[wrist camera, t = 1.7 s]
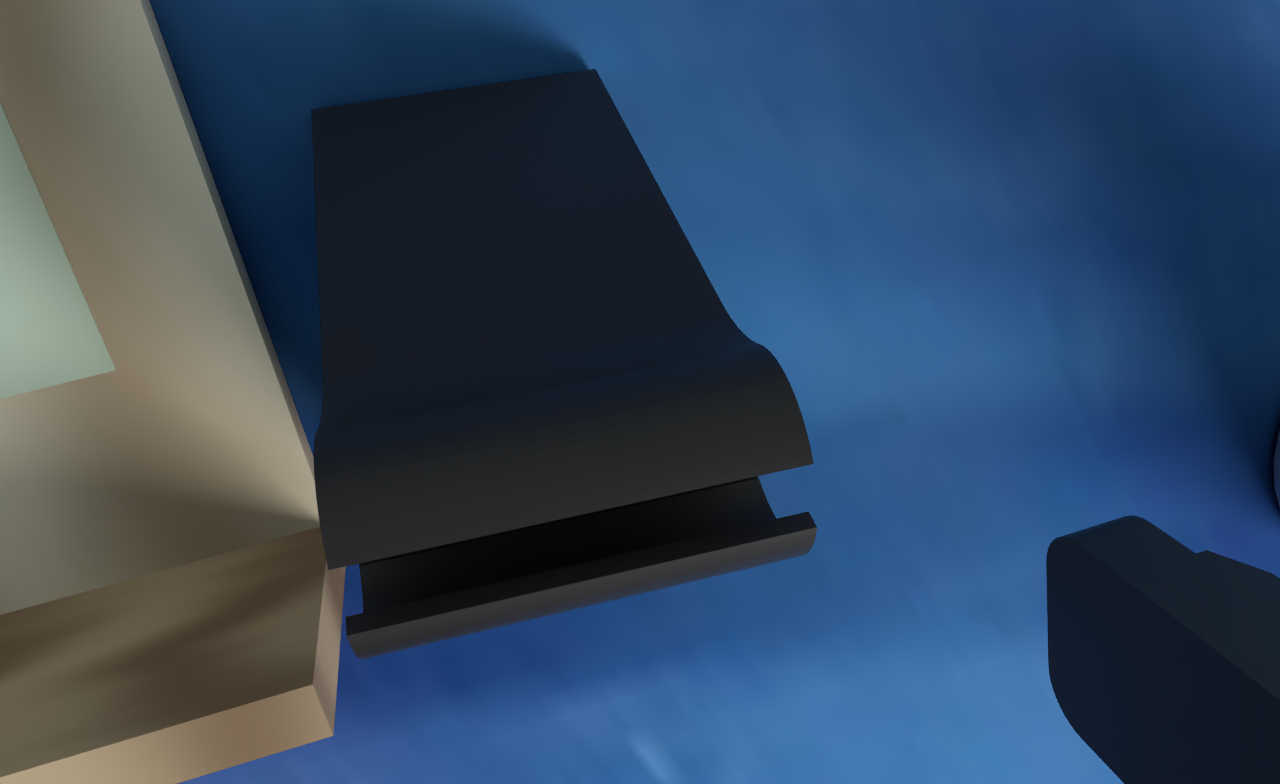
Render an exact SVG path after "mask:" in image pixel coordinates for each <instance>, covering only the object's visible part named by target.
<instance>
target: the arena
mask: <svg viewBox="0 0 1280 784" xmlns="http://www.w3.org/2000/svg"><path fill="white" fill-rule="evenodd" d="M345 567H346V566H345ZM345 567H341V568H336V569H332V570H328V567H327V562H326V557H325V552H324V546H323V541H322V535H321V529H320V522H319V515H318V508H317V500H316V490H315V479H314V457H313V455H312V452H311V449H310V446H309V444H308V441H307V438H306V435H305V432H304V430H303V427H302V424H301V421H300V419H299V416H298V413H297V410H296V407H295V405H294V402H293V399H292V396H291V393H290V391H289V388H288V385H287V382H286V380H285V377H284V374H283V371H282V368H281V366H280V363H279V360H278V357H277V355H276V352H275V349H274V346H273V343H272V341H271V338H270V335H269V332H268V329H267V327H266V324H265V321H264V318H263V316H262V313H261V310H260V307H259V304H258V302H257V299H256V296H255V293H254V291H253V288H252V285H251V282H250V279H249V277H248V274H247V271H246V268H245V265H244V263H243V260H242V257H241V254H240V252H239V249H238V246H237V243H236V240H235V238H234V235H233V232H232V229H231V227H230V224H229V221H228V218H227V215H226V213H225V210H224V207H223V204H222V201H221V199H220V196H219V193H218V190H217V188H216V185H215V182H214V179H213V176H212V174H211V171H210V168H209V165H208V163H207V160H206V157H205V154H204V151H203V149H202V146H201V143H200V140H199V137H198V135H197V132H196V129H195V126H194V124H193V121H192V118H191V115H190V112H189V110H188V107H187V104H186V101H185V99H184V96H183V93H182V90H181V87H180V85H179V82H178V79H177V76H176V73H175V71H174V68H173V65H172V62H171V60H170V57H169V54H168V51H167V48H166V46H165V43H164V40H163V37H162V34H161V32H160V29H159V26H158V23H157V21H156V18H155V15H154V12H153V9H152V7H151V4H150V1H149V0H0V784H177V783H180V782H183V781H187V780H190V779H193V778H196V777H200V776H203V775H206V774H210V773H213V772H216V771H219V770H223V769H226V768H229V767H232V766H236V765H239V764H242V763H246V762H249V761H252V760H255V759H259V758H262V757H265V756H268V755H272V754H275V753H278V752H281V751H285V750H288V749H291V748H295V747H298V746H301V745H304V744H308V743H311V742H314V741H317V740H321V739H324V738H327V737H331V736H333V734H334V720H335V706H336V692H337V678H338V664H339V650H340V637H341V623H342V609H343V595H344V581H345Z"/></svg>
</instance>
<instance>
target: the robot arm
mask: <svg viewBox="0 0 1280 784" xmlns="http://www.w3.org/2000/svg"><path fill="white" fill-rule="evenodd" d="M1274 488H1275V492H1276V495H1277V499H1278V503H1279V506H1280V430H1279V434H1278V440H1277V445H1276V451H1275V456H1274ZM1046 566H1047V614H1048V662H1049V674H1050V679H1051V683H1052V687H1053V690H1054V693H1055V696H1056V698H1057V701H1058V703H1059V705H1060V707H1061V709H1062V711H1063V713H1064V715H1065V717H1066V718H1067V720H1068V721H1069V723H1070V725H1071V726H1072V727H1073V729H1074V730H1075V731H1076V733H1077V734H1078V735H1079V736H1080V737H1081V738H1082V739H1083V740H1084V742H1085V743H1086V744H1087V745H1088V746H1089V747H1090V748H1091V749H1092V750H1093V751H1094V752H1095V753H1096V754H1097V755H1098V756H1099V757H1100V758H1101V759H1102V761H1103V762H1104V763H1105V764H1106V765H1107V766H1108V767H1109V768H1110V769H1111V770H1112V771H1113V772H1114V773H1115V774H1116V775H1117V776H1118V777H1119V778H1120V780H1121V781H1122V782H1123V783H1124V784H1280V578H1278V577H1277V576H1275V575H1274V574H1272V573H1269V572H1267V571H1264V570H1261V569H1258V568H1255V567H1252V566H1250V565H1247V564H1244V563H1241V562H1238V561H1236V560H1233V559H1230V558H1227V557H1224V556H1221V555H1219V554H1216V553H1213V552H1210V551H1207V550H1206V551H1203V552H1200V553H1197V554H1196V553H1194V552H1193V551H1191V550H1190V549H1188V548H1187V547H1185V546H1184V545H1182V544H1181V543H1179V542H1178V541H1176V540H1175V539H1174V538H1172V537H1171V536H1169V535H1168V534H1166V533H1165V532H1163V531H1162V530H1160V529H1159V528H1157V527H1156V526H1155V525H1153V524H1152V523H1150V522H1148V521H1147V520H1145V519H1143V518H1140V517H1138V516H1131V515H1130V516H1125V517H1122V518H1118V519H1115V520H1112V521H1109V522H1106V523H1103V524H1099V525H1096V526H1093V527H1090V528H1087V529H1084V530H1080V531H1077V532H1074V533H1071V534H1068V535H1064V536H1061V537H1058V538H1056V539H1055V540H1053V541H1052V543H1051V544H1050V546H1049V548H1048V552H1047V561H1046Z"/></svg>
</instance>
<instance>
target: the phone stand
mask: <svg viewBox="0 0 1280 784" xmlns="http://www.w3.org/2000/svg"><path fill="white" fill-rule="evenodd" d="M311 113H312V137H313V161H314V184H315V208H316V232H317V256H318V279H319V303H320V327H321V350H322V374H323V406H322V416H321V421H320V425H319V428H318V430H317V432H316V435H315V441H314V479H315V490H316V500H317V508H318V515H319V522H320V529H321V535H322V541H323V546H324V552H325V557H326V562H327V567H328V570H332V569H336V568H341V567H345V566H350V565H355V564H359V567H360V575H361V584H362V594H363V613H361V614H357V615H353V616H348V617H346V633H347V638H348V641H349V643H350V645H351V647H352V649H353V651H354V653H355V654H356V656H357V657H358V658H359V659H365V658H369V657H374V656H378V655H382V654H386V653H391V652H395V651H399V650H403V649H408V648H412V647H416V646H420V645H425V644H429V643H433V642H437V641H442V640H446V639H450V638H454V637H459V636H463V635H467V634H471V633H476V632H480V631H484V630H488V629H492V628H497V627H501V626H505V625H509V624H514V623H518V622H522V621H526V620H531V619H535V618H539V617H543V616H548V615H552V614H556V613H560V612H565V611H569V610H573V609H577V608H582V607H586V606H590V605H594V604H599V603H603V602H607V601H611V600H616V599H620V598H624V597H628V596H633V595H637V594H641V593H645V592H649V591H654V590H658V589H662V588H666V587H671V586H675V585H679V584H683V583H688V582H692V581H696V580H700V579H705V578H709V577H713V576H717V575H722V574H726V573H730V572H734V571H739V570H743V569H747V568H751V567H756V566H760V565H764V564H768V563H773V562H777V561H781V560H785V559H790V558H794V557H798V556H802V555H805V554H807V553H808V552H809V551H810V549H811V548H812V545H813V543H814V540H815V536H816V530H817V526H816V525H815V523H814V521H813V519H812V517H811V515H810V513H809V512H804V513H800V514H796V515H791V516H787V517H782V518H778V519H776V517H775V515H774V514H773V512H772V510H771V508H770V506H769V504H768V501H767V499H766V497H765V494H764V492H763V489H762V486H761V484H760V481H759V478H758V477H757V476H760V475H764V474H769V473H774V472H778V471H783V470H787V469H792V468H796V467H801V466H805V465H810V464H813V458H812V453H811V448H810V444H809V440H808V436H807V432H806V428H805V425H804V421H803V418H802V415H801V411H800V409H799V406H798V403H797V400H796V397H795V395H794V392H793V390H792V388H791V385H790V383H789V381H788V379H787V377H786V375H785V373H784V371H783V369H782V368H781V366H780V364H779V363H778V361H777V360H776V358H775V357H774V356H773V355H772V353H771V352H770V351H769V350H768V349H767V348H765V347H764V346H762V345H760V344H758V343H755V342H754V341H752V340H751V339H749V338H748V337H747V336H746V335H745V334H743V333H742V331H741V330H740V329H739V328H738V327H737V326H736V324H735V323H734V322H733V320H732V319H731V318H730V316H729V314H728V313H727V311H726V310H725V308H724V306H723V304H722V303H721V301H720V299H719V297H718V295H717V293H716V292H715V290H714V288H713V286H712V284H711V282H710V280H709V279H708V277H707V275H706V273H705V271H704V269H703V267H702V266H701V264H700V262H699V260H698V258H697V256H696V255H695V253H694V251H693V249H692V247H691V245H690V243H689V242H688V240H687V238H686V236H685V234H684V232H683V230H682V229H681V227H680V225H679V223H678V221H677V219H676V218H675V216H674V214H673V212H672V210H671V208H670V206H669V205H668V203H667V201H666V199H665V197H664V195H663V193H662V192H661V190H660V188H659V186H658V184H657V182H656V181H655V179H654V177H653V175H652V173H651V171H650V169H649V168H648V166H647V164H646V162H645V160H644V158H643V156H642V155H641V153H640V151H639V149H638V147H637V145H636V144H635V142H634V140H633V138H632V136H631V134H630V132H629V131H628V129H627V127H626V125H625V123H624V121H623V119H622V118H621V116H620V114H619V112H618V110H617V108H616V107H615V105H614V103H613V101H612V99H611V97H610V95H609V94H608V92H607V90H606V88H605V86H604V84H603V82H602V81H601V79H600V77H599V75H598V73H597V71H596V70H595V69H592V70H585V71H578V72H571V73H564V74H557V75H550V76H543V77H536V78H529V79H522V80H515V81H508V82H501V83H494V84H487V85H480V86H473V87H466V88H459V89H452V90H445V91H438V92H431V93H424V94H417V95H410V96H403V97H396V98H389V99H382V100H375V101H368V102H361V103H354V104H347V105H340V106H333V107H326V108H319V109H312V110H311Z"/></svg>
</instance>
